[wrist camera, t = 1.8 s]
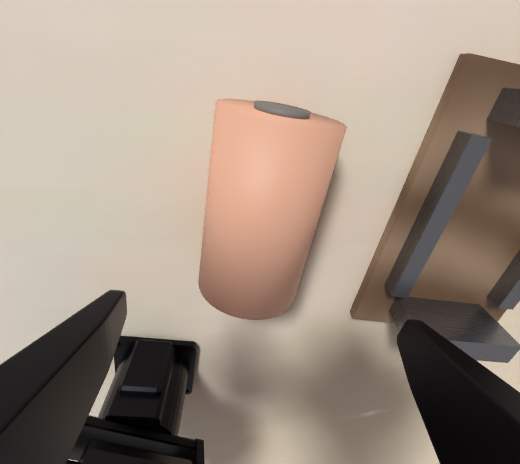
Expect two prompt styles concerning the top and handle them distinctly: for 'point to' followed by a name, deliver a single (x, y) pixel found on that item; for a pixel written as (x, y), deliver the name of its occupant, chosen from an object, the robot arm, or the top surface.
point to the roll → (263, 203)
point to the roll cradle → (457, 219)
